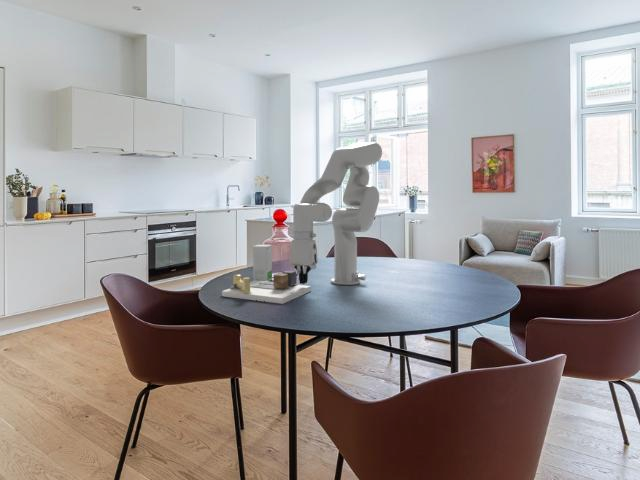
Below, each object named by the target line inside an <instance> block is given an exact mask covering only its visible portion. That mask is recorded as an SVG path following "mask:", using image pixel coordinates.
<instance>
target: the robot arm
mask: <svg viewBox="0 0 640 480" xmlns="http://www.w3.org/2000/svg"><path fill="white" fill-rule="evenodd" d="M382 155H383V149H382V146H381V145H380V144H379V143H378V142H375V141H372V142H368V141H367V142H358V143H357V142H356V143H352V144H349V145H347V146H345V147H338V148H336V149H334V151H333V152H332V154H331V155H330V158H329V160H328V162H327V165H326V166H325V169H324V171H323V173H322V175H321V177H320V178H319V179H318V180H316V181H315V182H314V183H313V184H312V185H311V186H310V187H309V188H308V189H307V190H306V191H305V192H304V194H303V196H302V198H301V200H300V201H299V203H295V204H294V205H293V207H292V209H293V211H292V212H293V215H292V216H293V219H292V220H293V223H292V224H293V225H292V227H293V229H292V231H293V234H292V235H293V238H292V239H291V242H290V250H289V263H290V267H291V268H293V269H295V271H296V272H297V273H298V281H299V285H301V284H302V285H304V284H307V283H308V281H309V279H308V278H309V277H308V276H309V275H308V274H309V272H310V271H311V270H316V269H317V264H318V261H319V260H318V248H317V243H316V239H314V238H316V237H317V233H314V222H316V223H326V222H328V221H329V220H330V219H331V221H332V222H331V223H332V227H333V236H334V255H333V256H334V266H333V267H334V272H333V273H334V275H333V278H331V279H330V283H331V284H333V285H338V286H352V285H353V286H354V285H358V284H360V283H361V281H366V280H367V279H366V275H365V274H360V271H358V268H357V267H358V264H357V263H358V240H357V236H356V234H355V233H366V232H368V231H369V230H370V229H371V226H372V224H373V223H374V219H375V215H376V213H377V209H378V207H379V202H380V192H379V190H378V188H377V187H376V186H375V185H372V184H369V182H370V173H369V171H368V169H367V166H370V165H373V164H376V163H379V161H380V160H381V158H382ZM348 170H349V177H348V180H347V184H346V186H345V189H344V193H343V196H342V202H343V204H344V205H345V206H346V207H344V208H343V207H342V208H341V207H340V208H339V209H336V210H335V211H334V212H333V211H332V208H331V206H330V205H329V204H328V203H325V202H318V201H319V200H320V199H321V198H322V197H323V196H326V195H327V194H330V193H332V192H335V191H336V190H337V189H339V188H340V187H341V186H342V183H343V181H344V178H345V177H346V174H347V172H348ZM347 207H348V208H347ZM331 217H332V218H331Z"/></svg>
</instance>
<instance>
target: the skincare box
mask: <svg viewBox="0 0 640 480" xmlns="http://www.w3.org/2000/svg"><path fill="white" fill-rule="evenodd" d="M272 256H273V255H272V244H256V245H253V246H252V275H253V276H252V277H253V280H252V281H254V280H257V281H269V282H271V280H273V257H272Z"/></svg>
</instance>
